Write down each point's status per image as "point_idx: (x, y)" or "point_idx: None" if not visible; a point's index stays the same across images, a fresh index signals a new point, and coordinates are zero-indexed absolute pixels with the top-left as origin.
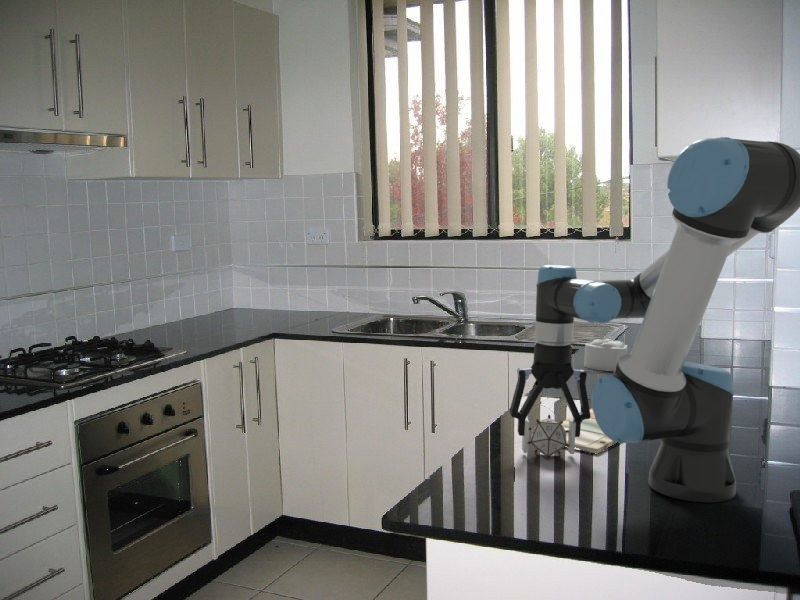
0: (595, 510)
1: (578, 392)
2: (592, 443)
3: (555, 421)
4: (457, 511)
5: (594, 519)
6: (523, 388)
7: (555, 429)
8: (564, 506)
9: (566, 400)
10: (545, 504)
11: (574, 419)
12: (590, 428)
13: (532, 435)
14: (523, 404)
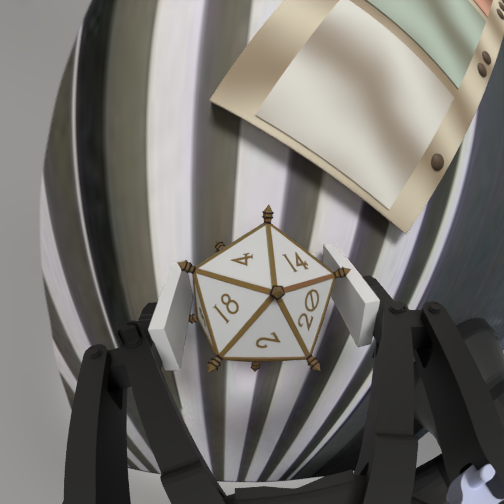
0: (292, 449)
1: (460, 390)
2: (410, 176)
3: (295, 338)
4: (139, 457)
5: (284, 460)
6: (126, 493)
7: (284, 360)
8: (256, 450)
9: (372, 404)
10: (232, 449)
11: (376, 332)
12: (422, 20)
13: (200, 315)
14: (130, 383)
